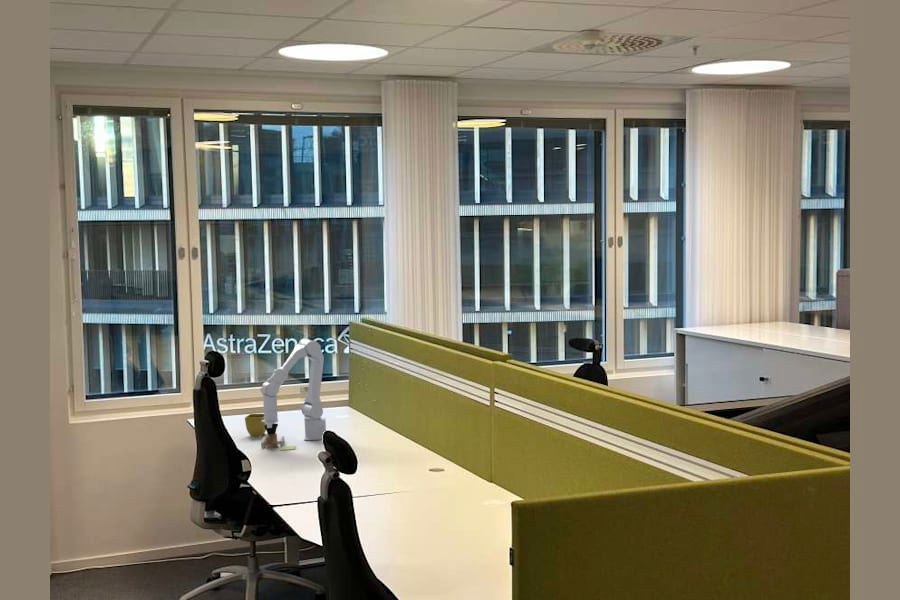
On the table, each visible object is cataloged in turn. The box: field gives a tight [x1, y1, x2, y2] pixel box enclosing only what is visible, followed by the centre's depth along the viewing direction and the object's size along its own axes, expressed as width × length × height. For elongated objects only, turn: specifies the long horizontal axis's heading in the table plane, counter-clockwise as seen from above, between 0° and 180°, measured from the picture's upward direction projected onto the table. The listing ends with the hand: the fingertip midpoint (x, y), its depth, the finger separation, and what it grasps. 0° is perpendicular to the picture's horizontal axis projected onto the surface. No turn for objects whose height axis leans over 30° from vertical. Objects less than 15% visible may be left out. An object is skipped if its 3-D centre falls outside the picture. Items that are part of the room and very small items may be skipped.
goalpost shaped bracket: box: [260, 435, 286, 449], centre depth 399 cm, size 9×10×2 cm
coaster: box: [279, 445, 297, 451], centre depth 392 cm, size 6×6×1 cm
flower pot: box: [244, 413, 267, 437], centre depth 420 cm, size 9×9×9 cm
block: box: [265, 433, 278, 449], centre depth 395 cm, size 4×4×5 cm
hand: (271, 441), depth 398 cm, fingers closed, pressing on block
